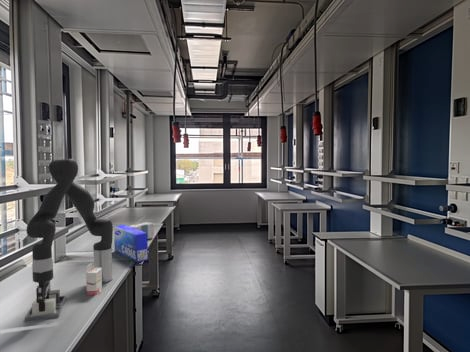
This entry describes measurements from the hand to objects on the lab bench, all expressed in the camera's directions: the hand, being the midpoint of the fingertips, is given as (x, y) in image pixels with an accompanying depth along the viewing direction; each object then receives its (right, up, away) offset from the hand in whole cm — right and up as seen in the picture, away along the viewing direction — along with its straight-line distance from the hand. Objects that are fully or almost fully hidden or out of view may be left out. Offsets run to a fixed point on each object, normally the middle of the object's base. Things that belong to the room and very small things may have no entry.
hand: (44, 307), depth 147 cm
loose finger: (0, -3, 0) cm, 3 cm away
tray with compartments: (-2, -4, +5) cm, 7 cm away
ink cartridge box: (+11, -3, +26) cm, 28 cm away
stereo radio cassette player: (+3, +2, +142) cm, 142 cm away
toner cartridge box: (+8, 0, +96) cm, 96 cm away
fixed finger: (-3, -3, +10) cm, 11 cm away
